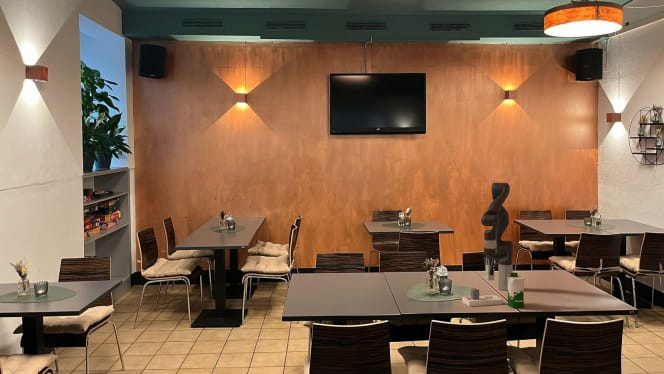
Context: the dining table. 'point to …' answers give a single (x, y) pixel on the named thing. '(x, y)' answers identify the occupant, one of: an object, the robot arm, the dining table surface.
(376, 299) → the dining table surface
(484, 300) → the white plate with window
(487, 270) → the green plug
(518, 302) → the milk carton
